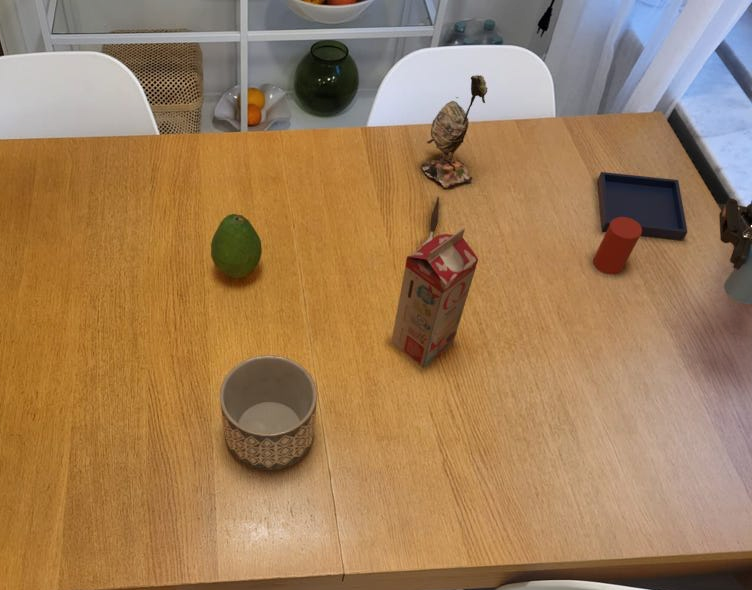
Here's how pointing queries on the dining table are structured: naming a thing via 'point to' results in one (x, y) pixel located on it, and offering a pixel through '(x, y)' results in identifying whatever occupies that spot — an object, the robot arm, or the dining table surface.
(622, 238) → the red cylinder
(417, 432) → the dining table surface
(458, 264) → the juice carton
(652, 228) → the blue tray
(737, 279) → the blue pin
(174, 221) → the dining table surface
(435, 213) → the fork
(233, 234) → the fruit
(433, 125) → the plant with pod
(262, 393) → the planter
